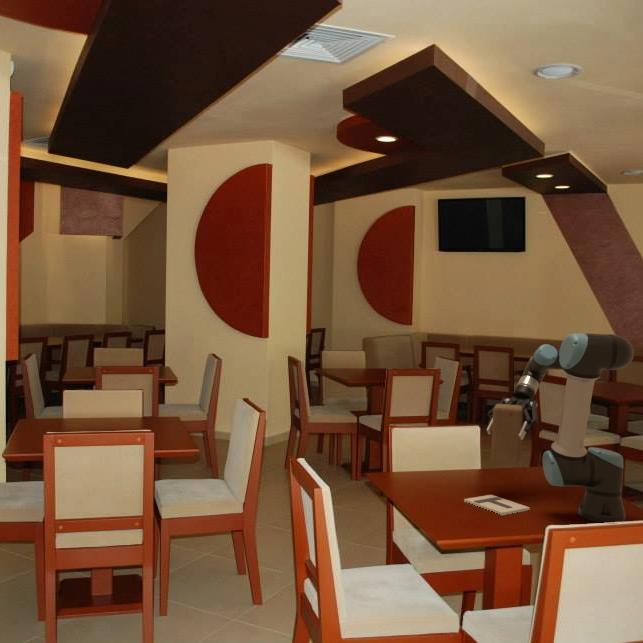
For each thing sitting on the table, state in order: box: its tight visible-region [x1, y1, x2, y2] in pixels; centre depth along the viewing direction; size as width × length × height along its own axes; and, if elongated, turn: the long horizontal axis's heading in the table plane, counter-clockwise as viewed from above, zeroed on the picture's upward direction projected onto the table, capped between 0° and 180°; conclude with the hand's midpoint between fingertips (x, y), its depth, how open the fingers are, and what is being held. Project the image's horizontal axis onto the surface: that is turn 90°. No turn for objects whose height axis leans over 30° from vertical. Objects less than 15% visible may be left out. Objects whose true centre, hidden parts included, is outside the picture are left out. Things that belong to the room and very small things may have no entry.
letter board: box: [463, 494, 531, 516], centre depth 275 cm, size 18×14×1 cm
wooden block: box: [490, 403, 524, 464], centre depth 287 cm, size 10×10×20 cm
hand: (504, 435), depth 285 cm, fingers closed on wooden block, 12 cm apart
